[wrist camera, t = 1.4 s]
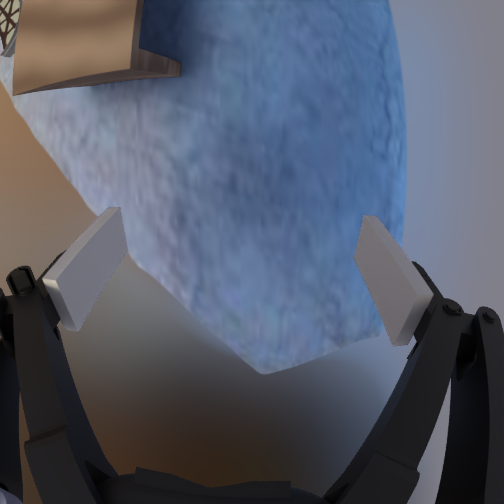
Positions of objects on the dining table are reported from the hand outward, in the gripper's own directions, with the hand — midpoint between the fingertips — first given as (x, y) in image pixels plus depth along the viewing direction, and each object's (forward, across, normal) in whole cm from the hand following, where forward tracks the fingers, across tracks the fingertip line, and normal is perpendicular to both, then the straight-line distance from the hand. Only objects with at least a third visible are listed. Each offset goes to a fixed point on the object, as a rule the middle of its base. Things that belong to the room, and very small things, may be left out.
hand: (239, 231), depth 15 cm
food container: (+26, -33, +25) cm, 48 cm away
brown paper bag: (+26, -16, +24) cm, 38 cm away
